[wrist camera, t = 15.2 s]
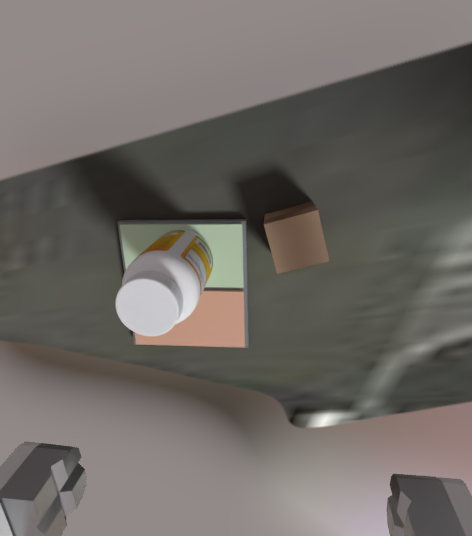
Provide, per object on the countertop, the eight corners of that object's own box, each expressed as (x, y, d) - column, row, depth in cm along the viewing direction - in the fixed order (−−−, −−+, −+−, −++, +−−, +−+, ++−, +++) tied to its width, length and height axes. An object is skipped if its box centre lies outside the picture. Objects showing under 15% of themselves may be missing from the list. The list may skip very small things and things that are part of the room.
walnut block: (312, 200, 29) (317, 209, 26) (322, 246, 31) (329, 261, 27) (265, 213, 30) (263, 224, 26) (277, 257, 31) (277, 273, 28)
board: (246, 219, 30) (245, 222, 29) (248, 342, 34) (247, 349, 33) (121, 219, 31) (115, 222, 30) (137, 339, 35) (133, 345, 34)
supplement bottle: (145, 273, 32) (94, 328, 23) (163, 218, 30) (115, 253, 21) (202, 296, 32) (174, 359, 23) (223, 242, 30) (202, 287, 21)
